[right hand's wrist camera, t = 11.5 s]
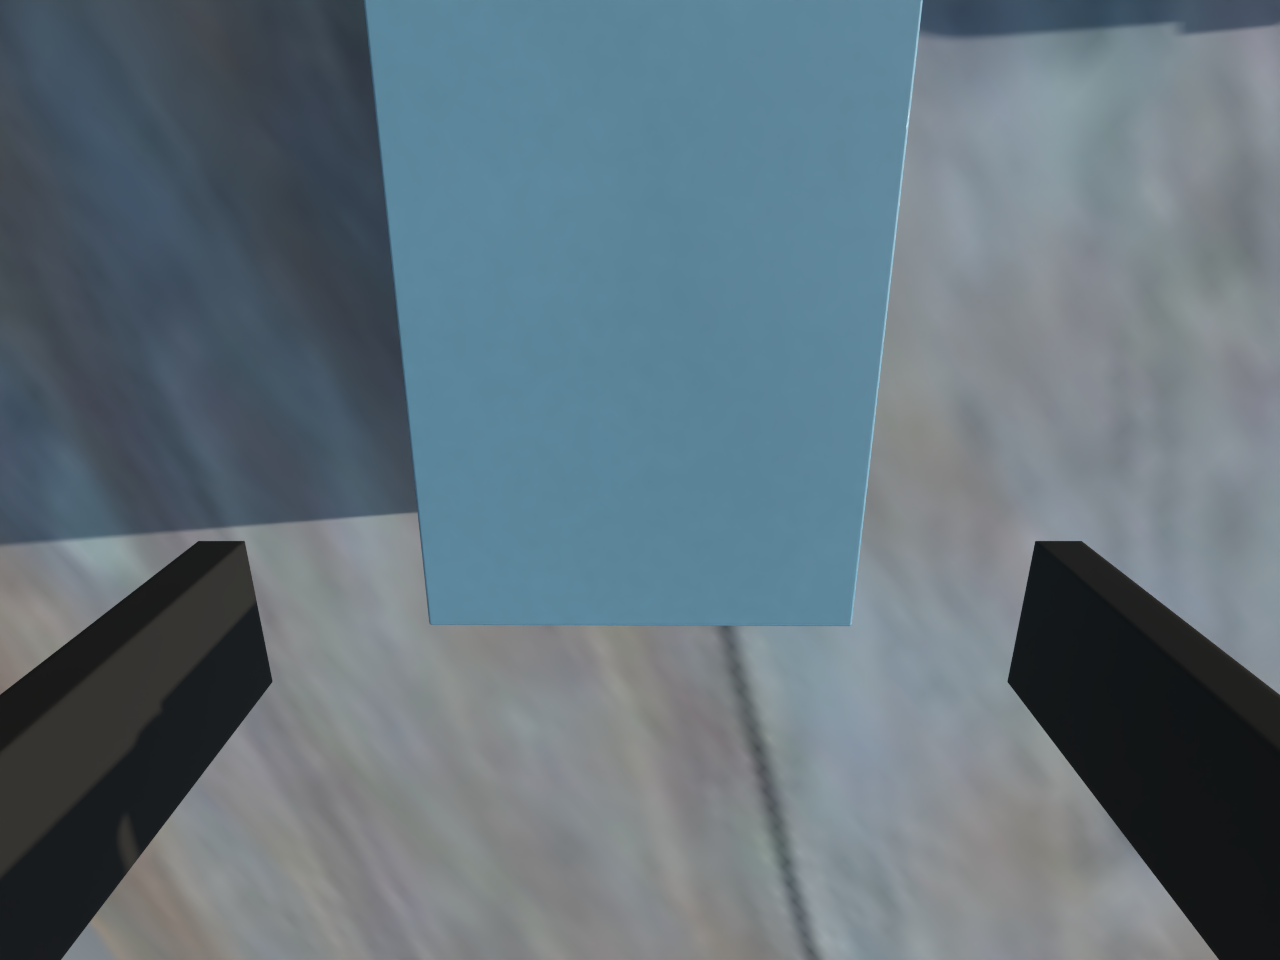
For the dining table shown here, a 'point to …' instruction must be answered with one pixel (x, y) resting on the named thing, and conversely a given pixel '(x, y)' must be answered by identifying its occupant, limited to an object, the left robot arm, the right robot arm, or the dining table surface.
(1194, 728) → the right robot arm
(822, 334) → the cabinet
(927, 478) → the dining table surface
